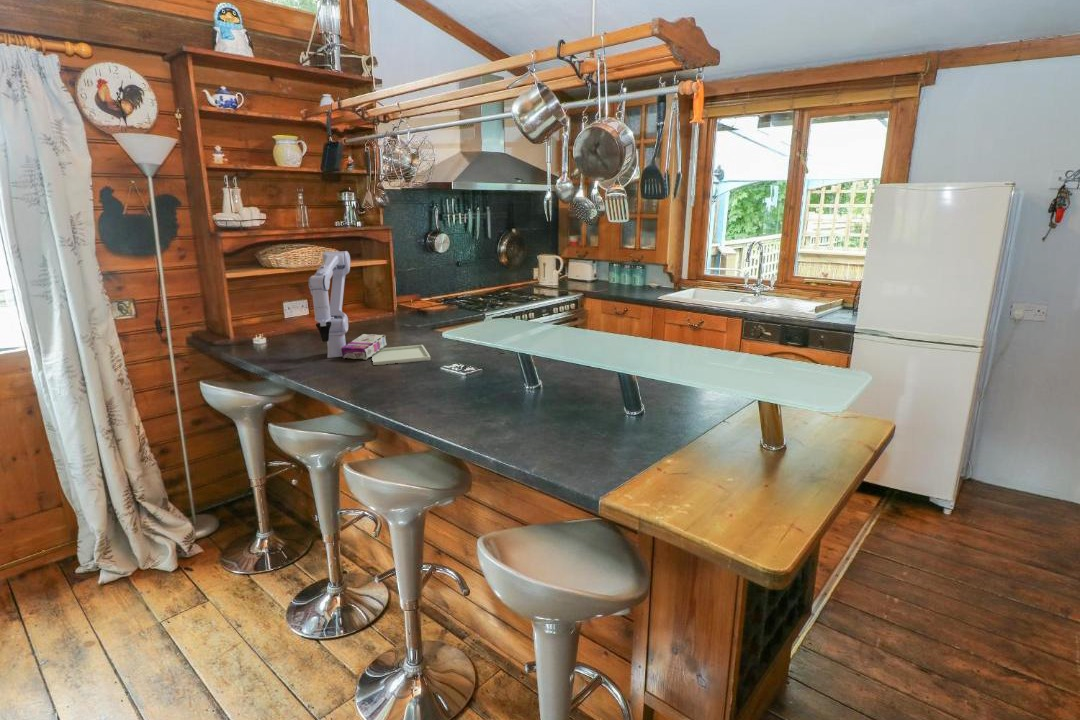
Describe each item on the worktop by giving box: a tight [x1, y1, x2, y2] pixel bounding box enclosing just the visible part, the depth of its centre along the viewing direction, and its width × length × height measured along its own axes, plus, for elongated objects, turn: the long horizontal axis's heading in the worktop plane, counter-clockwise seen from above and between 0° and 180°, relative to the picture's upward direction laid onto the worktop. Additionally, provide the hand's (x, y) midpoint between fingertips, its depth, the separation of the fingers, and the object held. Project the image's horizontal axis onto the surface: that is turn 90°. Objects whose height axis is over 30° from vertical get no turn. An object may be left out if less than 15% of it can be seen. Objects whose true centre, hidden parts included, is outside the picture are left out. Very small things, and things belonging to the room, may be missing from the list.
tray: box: [370, 344, 432, 366], centre depth 241 cm, size 22×22×2 cm
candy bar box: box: [341, 333, 388, 360], centre depth 243 cm, size 11×5×16 cm
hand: (325, 341), depth 230 cm, fingers closed
